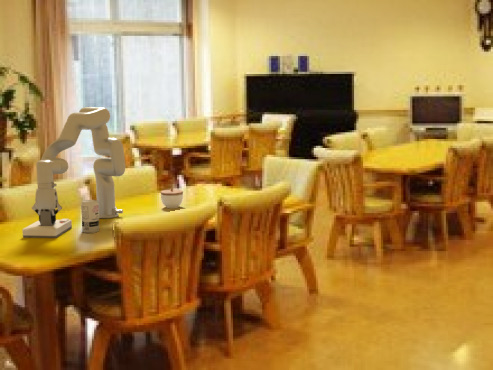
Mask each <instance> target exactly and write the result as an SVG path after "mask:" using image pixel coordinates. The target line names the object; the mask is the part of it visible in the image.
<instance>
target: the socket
mask: <svg viewBox="0 0 493 370" xmlns="http://www.w3.org/2000/svg"><path fill="white" fill-rule="evenodd" d="M72 221H73V220H72V219H69V218H62V219H56V222H55V224H54V225H53V226H41V224H40V221H39V220H37V221H35V222H33V223H31V224H29V225H27V226H26V227H23V228H22V230H21V231H22V238H27V239H29V238H30V239H31V238H33V239H35V238H36V239H57V238H58V237H60V236H61V235H63V234H65V233H66V232H67V231H69V230H71V229H73V228H72V227H73V226H72V225H73V224H72V223H73V222H72Z"/></svg>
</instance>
